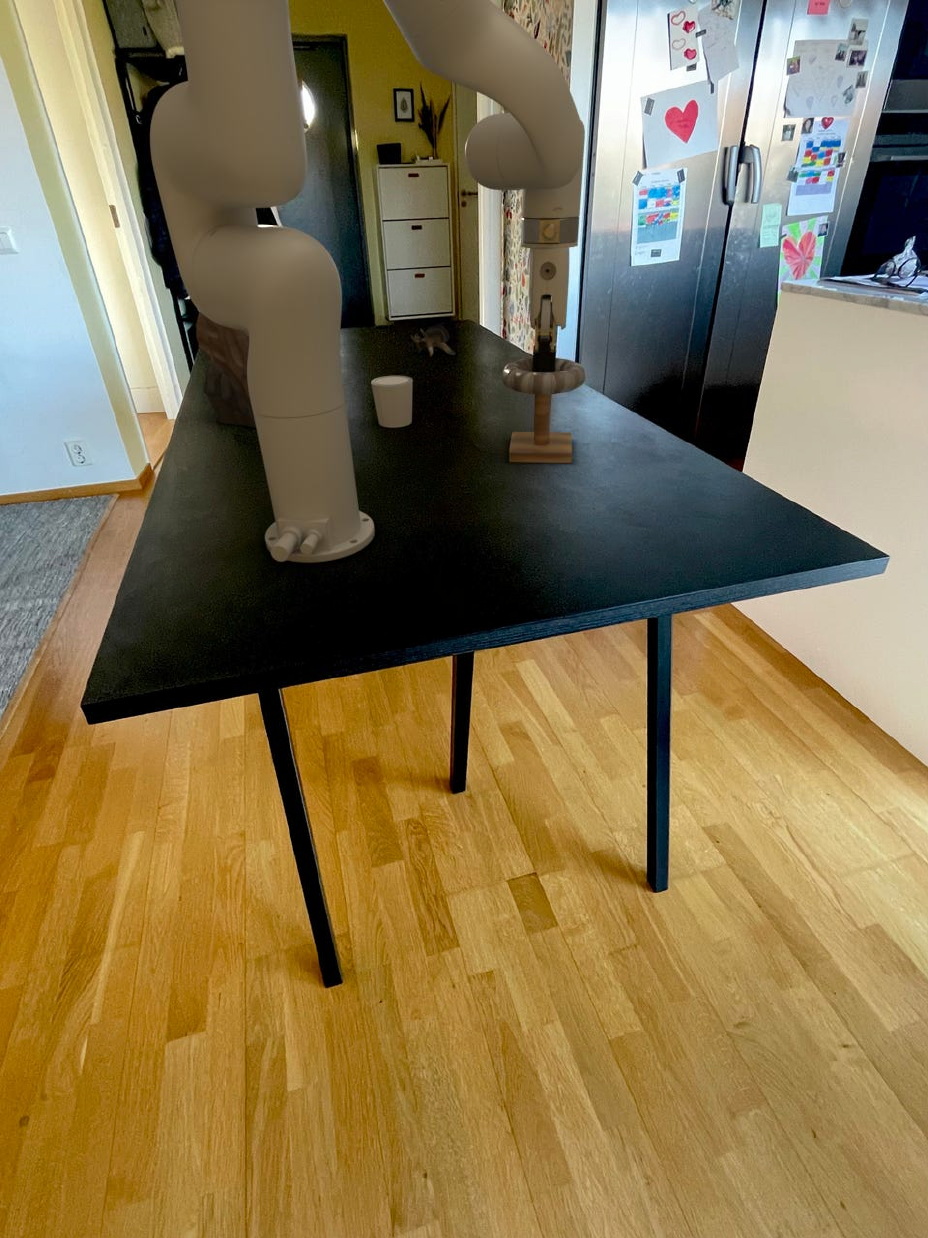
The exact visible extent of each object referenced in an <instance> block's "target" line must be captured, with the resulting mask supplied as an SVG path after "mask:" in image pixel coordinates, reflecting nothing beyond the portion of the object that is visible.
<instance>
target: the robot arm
mask: <svg viewBox="0 0 928 1238" xmlns="http://www.w3.org/2000/svg"><path fill="white" fill-rule="evenodd" d="M382 1H383V3H384V5H385V6H386V8H387V10H388V12H389V14H390V15H391V17H392V19H393V20H394V22H395V24H396V25H397V27H398V29H399V30H400V33H401V34H402V37H403V38H404V40H405V42H406V43H407V45H408V46H409V49H410V50H411V52H412V54H413V56H414V58H415V59H416V60H417V61H418V63H419V64H420V66H421V67H423V68H424V69H426V70H427V71H428V72H431V73H432V74H434V75H436V76H438V77H440V78H442V79H444V80H446V81H448V82H450V83H453V84H455V85H458V86H460V87H464V88H466V89H469V90H472V91H474V92H477V93H479V94H481V95H483V96H485V97H487V98H489V99H491V100H492V101H494V102H495V103H496V104H498V105H499V106H501V107H502V108H503V109H504V110H505V111H507V112H500V113H494V114H491V115H488V116H486V117H484V118H482V119H480V120H479V121H478V122H476V124H475V125H474V126H473V127H472V129H471V130H470V132H469V134H468V135H467V139H466V142H465V148H464V158H465V159H464V160H465V165H466V168H467V170H468V173H469V174H470V176H471V177H472V178H473V180H474V181H475V182H476V183H477V184H479V185H480V186H482V187H483V188H487V189H489V190H492V191H519V190H521V195H522V196H521V226H520V227H521V230H520V247H521V248H524V249H529V268H528V269H529V270H528V271H529V273H528V275H529V276H528V277H529V279H528V299H529V300H528V302H529V303H528V304H529V321H530V328H532V329H533V330H534V332H535V333H534V344H533V351H532V358H533V367H532V372H543V373H552V372H555V358H557V357H556V355H557V351H556V350H557V345H556V343H555V340H556V331H557V330H556V327H560V331H561V330H564V329H566V327H567V315H568V300H569V298H568V297H569V286H570V285H569V283H570V282H569V281H570V248H575V247H578V245H579V232H580V231H579V230H580V215H581V202H582V188H583V187H582V186H583V185H582V184H583V172H584V171H583V170H584V156H585V141H586V140H585V139H586V130H585V125H584V122H583V120H581V116H580V114H579V111H578V108H577V106H576V105H577V104H576V103H575V100H574V97H573V95H572V92H571V90H570V88H569V84H568V83H567V80H566V77H565V75H564V74H563V72H562V69H561V67H560V66H559V64H558V63H557V62H556V60H555V59H554V57H553V56H552V55H551V54H550V53H549V51H548V50H547V49H546V48H545V47H544V46H543V45H542V44H541V43H540V42H539V41H538V40H537V39H536V38H535V37H534V36H533V35H532V34H530V32H528V31H527V30H526V29H525V27H523V26H522V25H521V24H520V23H519V22H517V21H516V19H514V18H513V17H511V16H510V15H509V14H508V13H507V12H505V10H503V9H501V8H500V7H498V6H497V5H496V4H495V3H494V2H493V1H492V0H382ZM289 4H290V3H289V0H175V5H176V12H177V17H178V18H177V19H178V24H179V29H180V30H179V31H180V35H181V36H180V37H181V42H182V47H183V54H184V59H185V65H186V72H187V81H182V82H179V83H178V84H175V85H173V86H172V87H171V88H169V89H168V90H167V91H165V92H164V94H162V96H161V97H160V98H159V100H158V101H157V102H156V103H157V104H156V105H155V107H154V110H153V113H152V116H151V122H150V128H149V129H150V130H149V147H150V157H151V163H152V168H153V172H154V173H153V174H154V176H155V181H156V185H157V189H158V193H159V197H160V202H161V206H162V210H163V213H164V218H165V221H166V225H167V229H168V233H169V237H170V240H171V241H170V242H171V245H172V249H173V252H174V256H175V260H176V264H177V267H178V271H179V275H180V277H181V280H182V283H183V285H184V288H185V290H186V293H187V295H188V297H189V298H190V300H191V302H192V304H193V305H194V306H195V307H196V308H197V310H198V311H199V312H201V313H202V314H203V315H205V316H206V317H207V318H209V319H210V320H212V321H213V322H215V323H217V324H220V325H222V326H225V327H229V328H232V329H237V330H242V331H246V332H249V353H248V362H247V381H248V389H249V395H250V400H251V405H252V410H253V413H254V418H255V423H256V433H257V438H258V442H259V447H260V453H261V457H262V461H263V467H264V471H265V476H266V482H267V486H268V492H269V497H270V501H271V505H272V511H273V516H274V522H273V523H272V524H271V525H270V526H269V527H268V528H267V529H266V530H265V534H264V541H265V546H266V548H267V550H268V551H269V553H270V555H271V557H272V558H273V559H274V560H275V561H277V562H280V563H283V562H286V561H288V562H293V563H304V564H312V563H313V564H315V563H325V562H326V563H327V562H331V561H335V560H339V559H343V558H346V557H349V556H351V555H354V554H357V553H358V552H360V551H362V550H363V549H364V548H366V547H367V546H369V544H370V543H371V542H372V541H373V539H374V537H375V535H376V534H375V532H376V529H375V523H374V520H373V519H372V517H370V516H369V515H368V514H367V513H365V512H363V511H361V510H360V509H359V508H360V507H359V501H358V492H357V484H356V476H355V468H354V460H353V453H352V445H351V444H352V443H351V436H350V429H349V427H350V426H349V419H348V412H347V411H348V410H347V405H346V404H347V403H346V398H345V397H346V396H345V390H344V380H343V373H342V371H343V370H342V358H341V325H342V311H343V309H342V308H343V291H342V290H343V289H342V282H341V276H340V273H339V269H338V267H337V265H336V263H335V261H334V259H333V257H332V256H331V253H330V252H329V251H328V250H327V249H326V247H325V246H324V245H322V243H320V241H318V240H317V239H316V238H314V237H313V236H311V235H310V234H308V233H307V232H305V231H302V230H299V229H297V228H294V227H289V226H283V225H270V224H259V222H258V217H257V211H256V209H266V208H267V209H268V208H274V207H279V206H283V205H286V204H288V203H289V202H292V201H293V200H295V199H296V198H297V197H298V196H299V194H300V193H301V192H302V191H303V189H304V187H305V185H306V180H307V178H308V170H309V169H308V167H309V166H308V162H309V161H308V150H307V149H308V148H307V139H306V131H305V125H304V118H303V111H302V104H301V103H302V102H301V96H300V89H299V82H298V81H299V80H298V76H297V67H296V60H295V54H294V47H293V40H292V39H293V38H292V27H291V17H290V5H289Z"/></svg>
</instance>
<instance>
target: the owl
mask: <svg viewBox="0 0 928 1238" xmlns="http://www.w3.org/2000/svg"><path fill="white" fill-rule="evenodd" d="M195 329H196V330H195V333H196V334H195V335H196V340H197V342H198V349H199V350H200V351H201V352H202V353H203V354H204V356H205V357H206V359H207V363H206V365H207V366H206V368H205V370H204V372H203V373H204V375H205V377H204V378H205V379H204V383H203V394H204V395H205V396H206V397H207V399H208V401H209V403H210V404H211V407H212V409H213V410H214V413H215V414H216V415H217V419H218V422H219V423H221V424H228V425H234V426H245V427H249V428H254V429H255V428H256V423H255V418H254V413H253V410H252V405H251V400H250V395H249V389H248V381H247V362H248V353H249V332H246V331H242V330H237V329H232V328H229V327H225V326H222V325H220V324H217V323H215V322H213V321H212V320H210V319H209V318H207V317H206V316H205V315H203V314H202V313H201V312H200V311H199V312H198V317H197V320H196V323H195ZM256 429H257V428H256Z"/></svg>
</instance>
